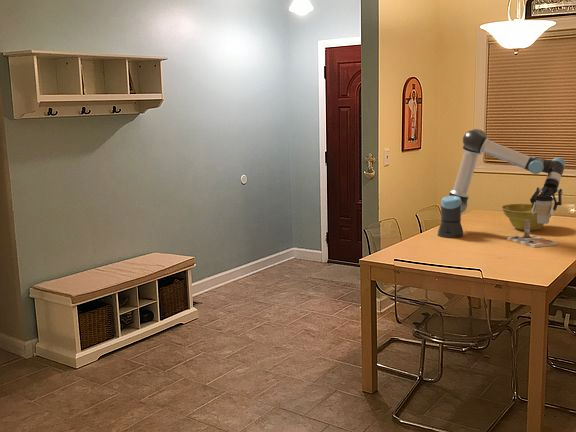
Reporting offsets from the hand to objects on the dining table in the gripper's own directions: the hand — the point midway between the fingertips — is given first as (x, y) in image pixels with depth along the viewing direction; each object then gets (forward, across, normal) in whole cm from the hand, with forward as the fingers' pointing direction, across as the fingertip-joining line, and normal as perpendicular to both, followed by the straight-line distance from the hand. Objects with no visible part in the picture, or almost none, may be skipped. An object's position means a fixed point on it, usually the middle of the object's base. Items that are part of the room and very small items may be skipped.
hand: (541, 213), depth 347 cm
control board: (+9, +6, -16) cm, 20 cm away
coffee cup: (+2, 0, -6) cm, 7 cm away
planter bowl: (-16, +22, -42) cm, 50 cm away
